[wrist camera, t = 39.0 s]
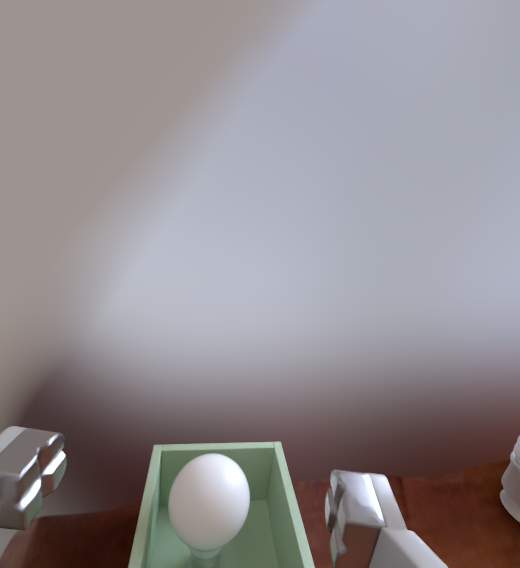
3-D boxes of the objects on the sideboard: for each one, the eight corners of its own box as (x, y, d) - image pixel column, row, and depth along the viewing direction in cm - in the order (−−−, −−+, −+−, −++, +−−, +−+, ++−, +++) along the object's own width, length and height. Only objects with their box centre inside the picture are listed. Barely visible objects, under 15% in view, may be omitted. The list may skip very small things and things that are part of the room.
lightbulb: (166, 536, 30) (169, 440, 26) (233, 524, 31) (244, 432, 28) (164, 624, 24) (169, 514, 21) (247, 603, 25) (263, 499, 22)
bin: (120, 688, 21) (118, 609, 19) (152, 506, 33) (153, 444, 31) (302, 660, 23) (320, 586, 21) (271, 499, 35) (280, 441, 33)
